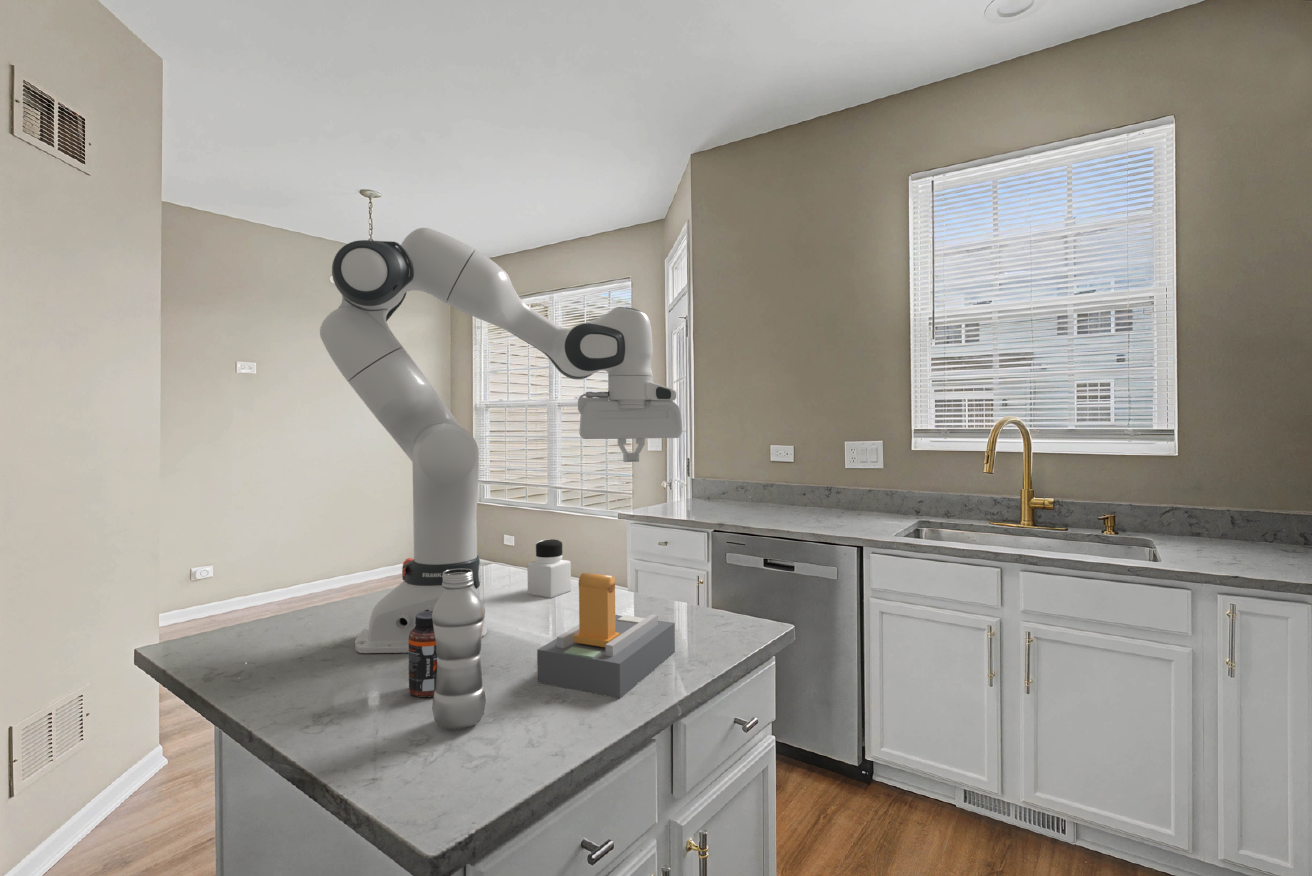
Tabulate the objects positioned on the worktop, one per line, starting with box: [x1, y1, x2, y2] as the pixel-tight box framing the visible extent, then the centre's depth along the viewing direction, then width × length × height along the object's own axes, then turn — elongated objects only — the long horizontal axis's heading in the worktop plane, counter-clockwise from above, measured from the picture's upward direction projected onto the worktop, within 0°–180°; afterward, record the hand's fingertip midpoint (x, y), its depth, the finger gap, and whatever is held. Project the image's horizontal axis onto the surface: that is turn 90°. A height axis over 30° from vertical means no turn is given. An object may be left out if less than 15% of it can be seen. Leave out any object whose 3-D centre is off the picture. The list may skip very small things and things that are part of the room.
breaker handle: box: [574, 572, 621, 647], centre depth 100 cm, size 4×6×10 cm, turn 65°
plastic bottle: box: [431, 569, 487, 730], centre depth 84 cm, size 6×7×20 cm
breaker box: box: [536, 614, 676, 699], centre depth 104 cm, size 20×14×7 cm
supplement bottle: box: [408, 611, 437, 698], centre depth 95 cm, size 6×6×11 cm
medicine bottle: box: [526, 538, 572, 599], centre depth 148 cm, size 7×7×12 cm
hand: (631, 462), depth 128 cm, fingers closed
